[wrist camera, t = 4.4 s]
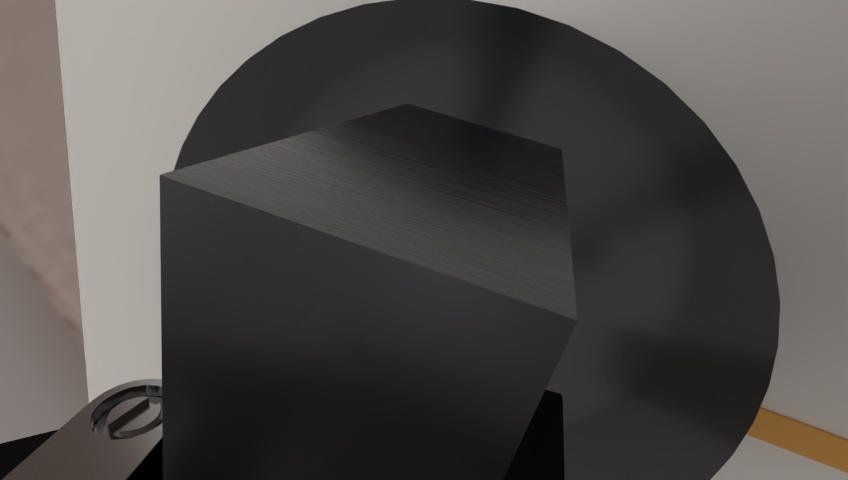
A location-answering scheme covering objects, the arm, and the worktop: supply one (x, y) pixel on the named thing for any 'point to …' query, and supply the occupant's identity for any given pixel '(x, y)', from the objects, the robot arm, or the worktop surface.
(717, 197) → the dial
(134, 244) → the dial plate
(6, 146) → the worktop surface
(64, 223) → the worktop surface
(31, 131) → the worktop surface
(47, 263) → the worktop surface
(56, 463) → the robot arm
